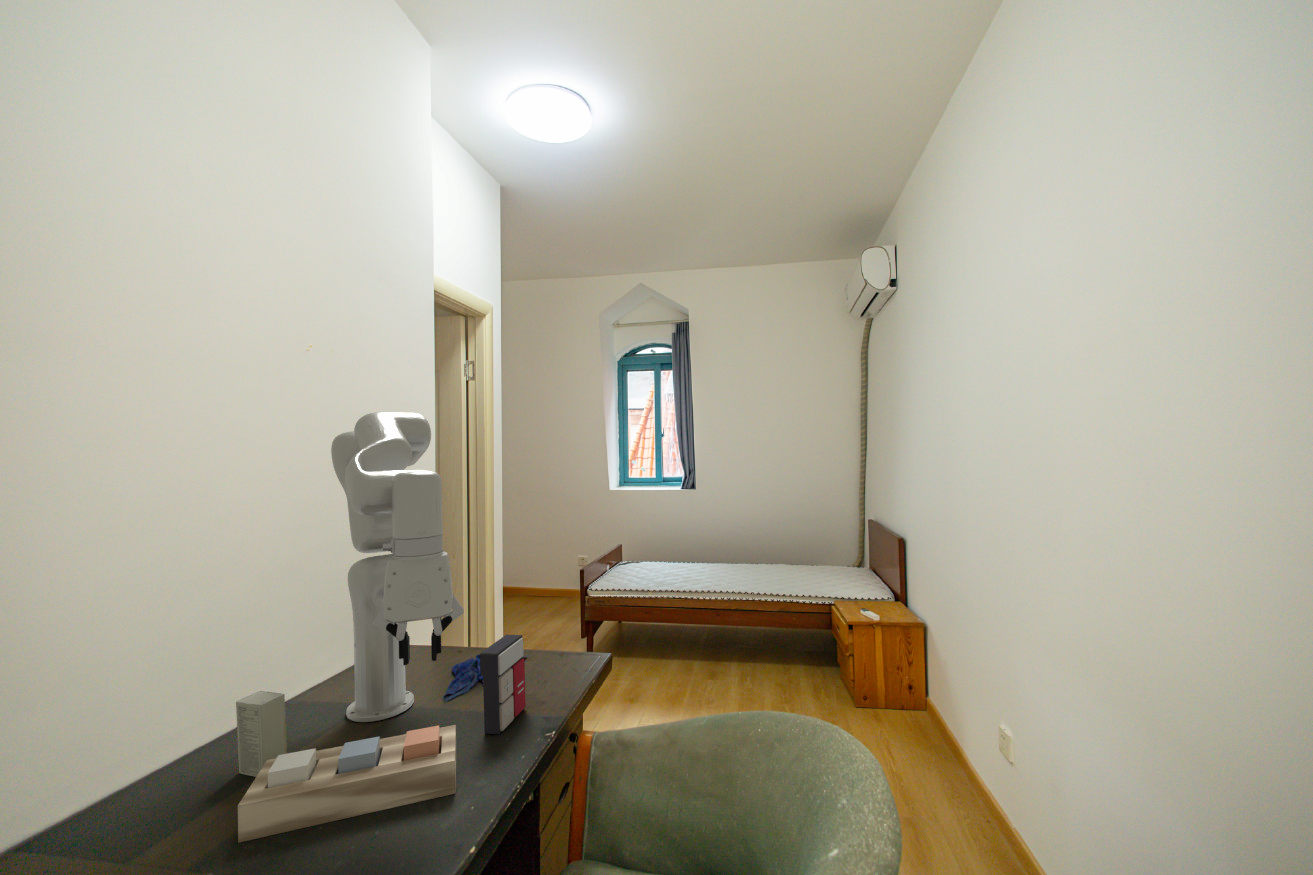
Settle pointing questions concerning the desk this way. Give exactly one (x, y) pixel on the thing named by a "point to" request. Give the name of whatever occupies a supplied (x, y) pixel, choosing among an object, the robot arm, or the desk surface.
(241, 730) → the skincare box
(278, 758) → the offwhite key
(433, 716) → the desk surface
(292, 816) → the key console
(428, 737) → the terracotta key
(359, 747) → the slate key
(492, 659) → the calculator
